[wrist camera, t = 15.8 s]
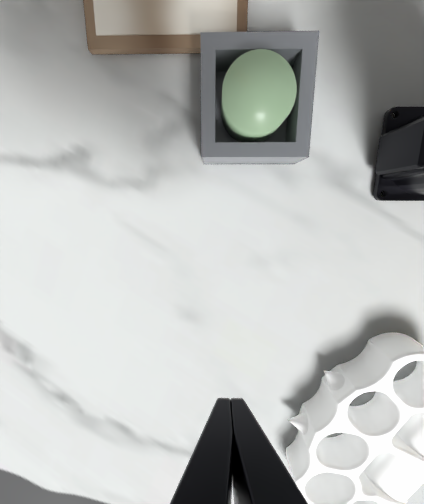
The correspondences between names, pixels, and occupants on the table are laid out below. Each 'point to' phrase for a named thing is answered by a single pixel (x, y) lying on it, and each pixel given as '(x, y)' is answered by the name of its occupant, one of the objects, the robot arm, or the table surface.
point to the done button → (257, 95)
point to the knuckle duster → (363, 428)
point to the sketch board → (158, 24)
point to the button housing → (212, 76)
